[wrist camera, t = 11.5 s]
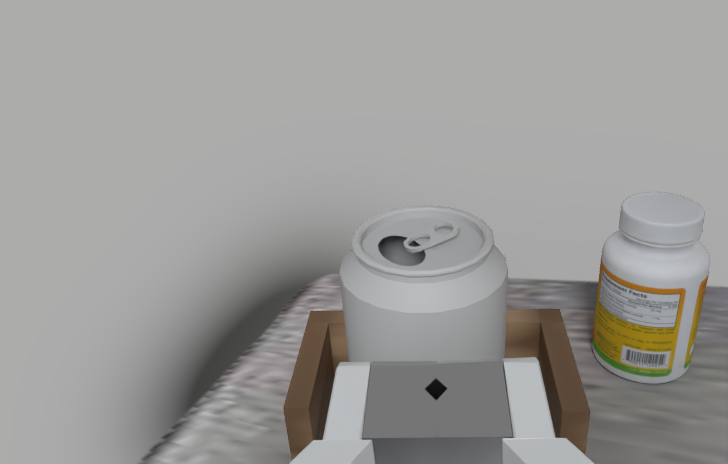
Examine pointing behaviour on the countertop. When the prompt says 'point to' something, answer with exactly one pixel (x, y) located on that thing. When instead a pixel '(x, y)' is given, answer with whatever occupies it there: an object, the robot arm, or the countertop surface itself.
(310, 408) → the corral
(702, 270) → the supplement bottle
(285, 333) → the countertop surface
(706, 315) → the countertop surface
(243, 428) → the countertop surface
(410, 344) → the can
